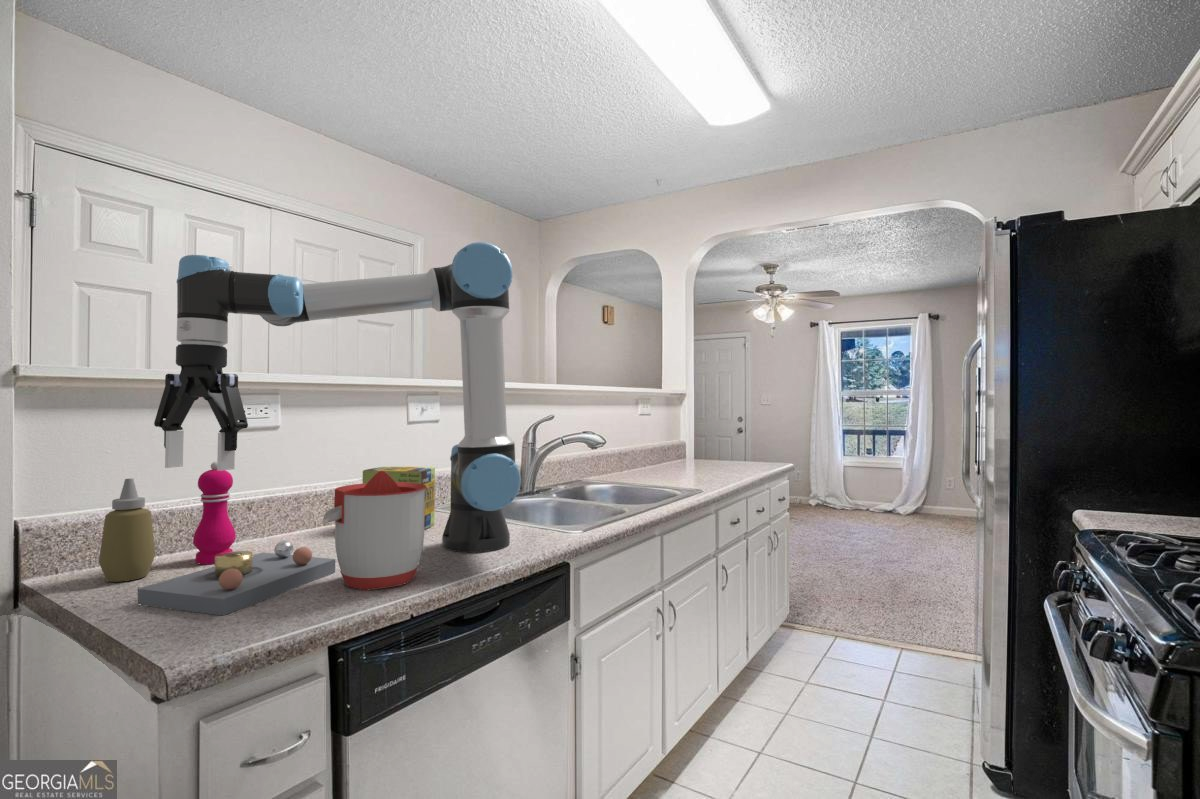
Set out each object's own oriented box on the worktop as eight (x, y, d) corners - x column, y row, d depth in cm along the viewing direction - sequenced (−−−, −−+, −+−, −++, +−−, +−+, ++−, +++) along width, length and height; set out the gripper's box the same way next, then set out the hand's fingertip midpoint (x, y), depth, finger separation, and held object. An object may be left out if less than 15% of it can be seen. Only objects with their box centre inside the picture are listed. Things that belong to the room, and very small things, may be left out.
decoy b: (247, 587, 94) (247, 567, 94) (229, 593, 91) (230, 572, 91) (231, 585, 94) (231, 565, 94) (213, 591, 91) (213, 570, 91)
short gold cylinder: (259, 569, 103) (260, 551, 103) (232, 578, 98) (232, 559, 98) (234, 566, 104) (235, 549, 104) (206, 575, 99) (207, 556, 99)
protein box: (421, 533, 145) (421, 471, 145) (360, 532, 146) (361, 470, 146) (435, 525, 156) (436, 466, 156) (379, 523, 156) (379, 465, 157)
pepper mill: (185, 565, 114) (186, 463, 115) (204, 556, 122) (205, 460, 122) (225, 564, 116) (226, 463, 116) (241, 555, 123) (243, 459, 123)
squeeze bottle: (138, 569, 111) (140, 475, 112) (165, 574, 108) (167, 477, 109) (87, 581, 104) (89, 480, 104) (115, 587, 101) (117, 482, 101)
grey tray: (335, 572, 111) (335, 559, 111) (223, 615, 88) (223, 599, 88) (262, 565, 115) (262, 552, 115) (137, 604, 92) (137, 588, 92)
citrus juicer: (313, 579, 106) (315, 469, 107) (409, 564, 117) (410, 464, 117) (332, 603, 94) (334, 478, 94) (438, 584, 104) (439, 471, 104)
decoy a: (316, 563, 108) (316, 545, 108) (303, 567, 105) (303, 549, 105) (301, 561, 109) (301, 544, 109) (288, 566, 106) (288, 548, 106)
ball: (297, 556, 113) (297, 539, 113) (284, 560, 110) (284, 543, 110) (283, 554, 114) (283, 538, 114) (270, 559, 111) (270, 542, 111)
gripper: (130, 343, 103) (127, 467, 103) (236, 341, 97) (233, 473, 97) (172, 347, 111) (169, 463, 110) (273, 345, 104) (270, 469, 104)
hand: (199, 468), depth 104 cm, fingers open, 11 cm apart
